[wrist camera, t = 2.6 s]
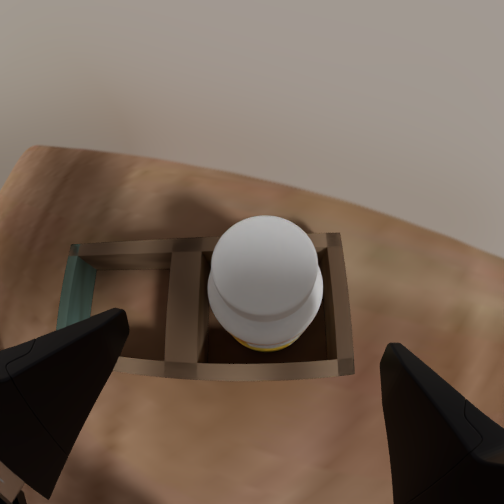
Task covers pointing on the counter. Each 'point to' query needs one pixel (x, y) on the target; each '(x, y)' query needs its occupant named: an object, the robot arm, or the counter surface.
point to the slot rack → (205, 307)
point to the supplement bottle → (265, 282)
